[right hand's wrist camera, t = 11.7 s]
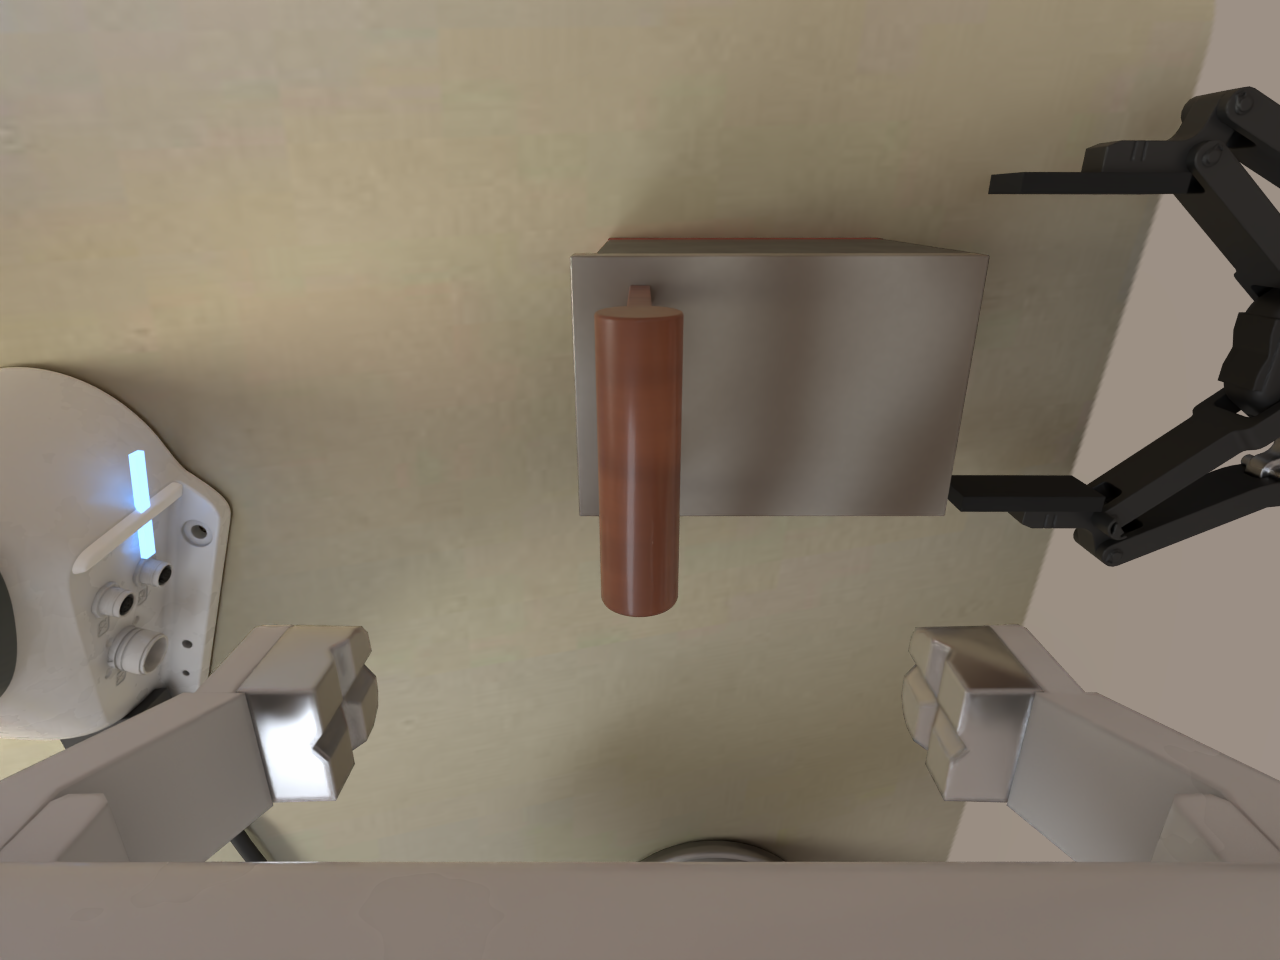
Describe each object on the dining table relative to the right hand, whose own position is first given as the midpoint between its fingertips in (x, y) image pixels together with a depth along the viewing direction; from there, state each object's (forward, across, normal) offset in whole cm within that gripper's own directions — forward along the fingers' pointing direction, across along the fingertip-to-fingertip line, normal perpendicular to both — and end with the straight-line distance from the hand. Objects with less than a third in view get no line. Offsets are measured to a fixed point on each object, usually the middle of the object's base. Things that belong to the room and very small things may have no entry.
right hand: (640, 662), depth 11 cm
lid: (+17, -5, 0) cm, 18 cm away
